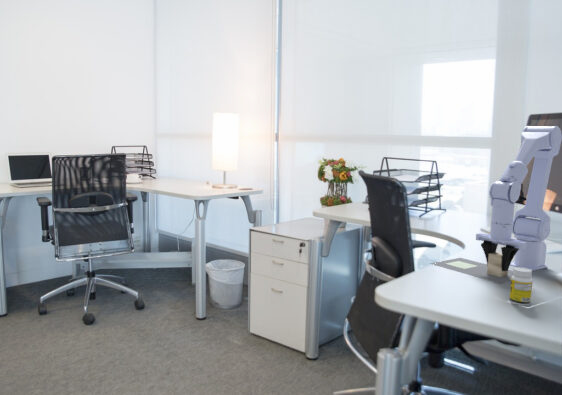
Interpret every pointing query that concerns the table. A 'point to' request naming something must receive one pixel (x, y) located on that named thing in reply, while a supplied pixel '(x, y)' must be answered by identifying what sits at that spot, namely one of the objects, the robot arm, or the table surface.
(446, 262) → the mat
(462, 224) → the table surface
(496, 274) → the birch block
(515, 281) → the supplement bottle
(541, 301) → the table surface
